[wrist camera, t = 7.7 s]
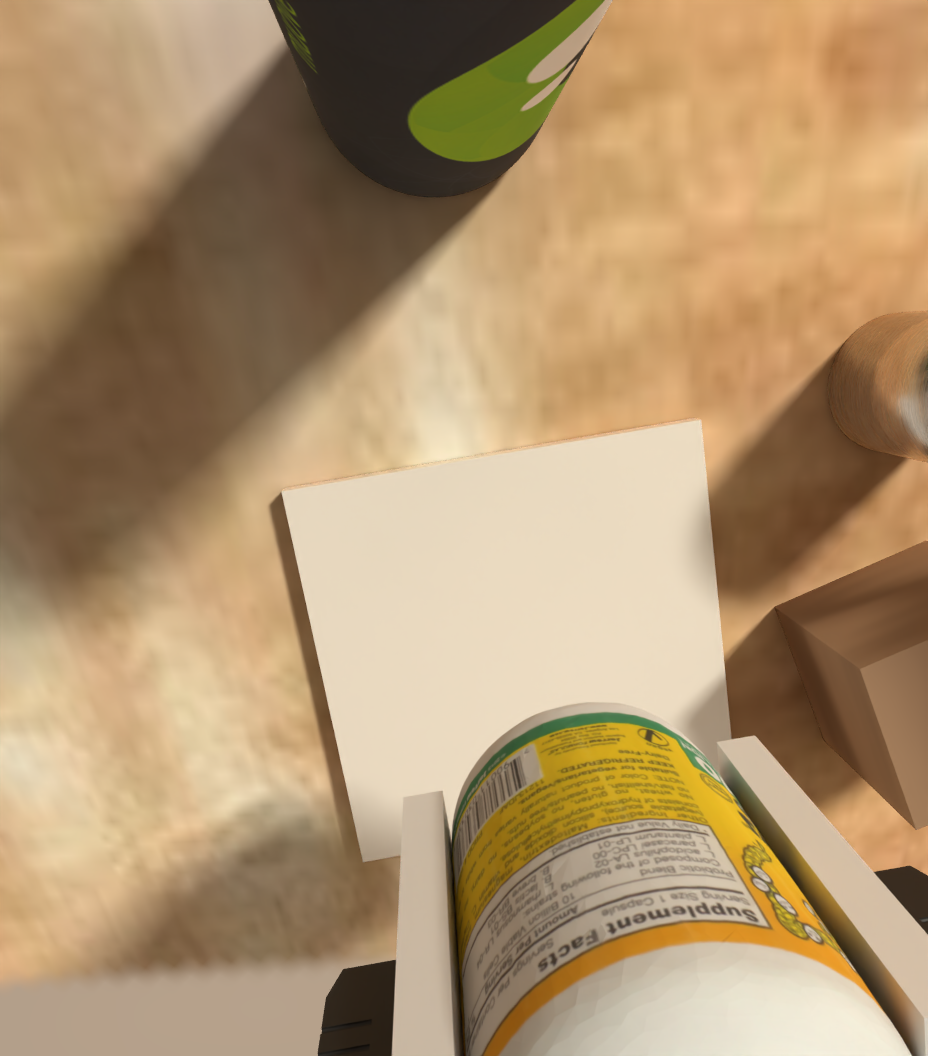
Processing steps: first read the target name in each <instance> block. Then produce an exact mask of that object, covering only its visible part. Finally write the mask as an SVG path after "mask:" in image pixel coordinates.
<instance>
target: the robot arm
mask: <svg viewBox="0 0 928 1056" xmlns="http://www.w3.org/2000/svg"><path fill="white" fill-rule="evenodd" d="M716 743H717V753H718V762H719V772H720V776H721V777H722V779H723V780H724V782H725V783H726V785H727V786H728V787H729V789H730V790H731V792H732V793H733V795H734V796H735V797H736V798H737V800H738V801H739V803H740V805H741V806H742V808H743V809H744V811H745V813H746V814H747V815H748V816H749V818H750V820H751V821H752V823H753V824H754V825H755V827H756V828H757V829H758V831H759V832H760V833H761V835H762V836H763V838H764V839H765V841H766V843H767V844H768V845H769V847H770V848H771V849H772V851H773V852H774V854H775V855H776V857H777V859H778V860H779V861H780V863H781V864H782V865H783V867H784V868H785V870H786V871H787V872H788V874H789V875H790V877H791V878H792V879H793V881H794V882H795V884H796V885H797V886H798V888H799V889H800V891H801V892H802V893H803V895H804V896H805V898H806V899H807V901H808V902H809V904H810V905H811V906H812V908H813V909H814V911H815V912H816V914H817V915H818V917H819V918H820V919H821V921H822V922H823V924H824V925H825V926H826V928H827V929H828V931H829V932H830V933H831V935H832V936H833V938H834V939H835V941H836V942H837V944H838V945H839V947H840V948H841V949H842V951H843V952H844V954H845V955H846V957H847V958H848V960H849V961H850V962H851V964H852V965H853V967H854V968H855V970H856V971H857V973H858V974H859V975H860V977H861V978H862V980H863V981H864V983H865V984H866V986H867V987H868V989H869V990H870V992H871V993H872V995H873V996H874V998H875V999H876V1001H877V1002H878V1004H879V1005H880V1006H881V1008H882V1009H883V1011H884V1012H885V1014H886V1015H887V1016H888V1018H889V1019H890V1021H891V1022H892V1024H893V1025H894V1027H895V1028H896V1030H897V1031H898V1033H899V1034H900V1036H901V1037H902V1039H903V1041H904V1043H905V1044H906V1046H907V1048H908V1050H909V1051H910V1053H911V1055H912V1056H928V876H927V875H926V874H924V873H922V872H920V871H919V870H917V869H915V868H913V867H911V866H905V867H900V868H894V869H889V870H883V871H877V872H873V871H872V870H871V869H870V868H869V866H868V865H867V864H866V863H865V862H864V861H863V859H862V858H861V857H860V856H859V855H858V854H857V853H856V851H855V850H854V849H853V848H852V847H851V846H850V844H849V843H848V842H847V841H846V840H845V839H844V838H843V836H842V835H841V834H840V833H839V832H838V831H837V829H836V828H835V827H834V826H833V825H832V824H831V823H830V821H829V820H828V819H827V818H826V817H825V816H824V814H823V813H822V812H821V811H820V810H819V809H818V808H817V806H816V805H815V804H814V803H813V802H812V801H811V799H810V798H809V797H808V796H807V795H806V794H805V793H804V791H803V790H802V789H801V788H800V787H799V786H798V784H797V783H796V782H795V781H794V780H793V779H792V778H791V776H790V775H789V774H788V773H787V772H786V771H785V769H784V768H783V767H782V766H781V765H780V764H779V763H778V761H777V760H776V759H775V758H774V757H773V756H772V754H771V753H770V752H769V751H768V750H767V749H766V748H765V746H764V745H763V744H762V743H761V742H760V741H759V739H758V738H757V737H756V736H755V735H754V736H749V737H743V738H737V739H731V740H726V741H720V742H716ZM318 1056H464V1051H463V1030H462V1016H461V999H460V974H459V958H458V944H457V927H456V912H455V894H454V877H453V867H452V839H451V834H450V828H449V823H448V818H447V813H446V807H445V802H444V797H443V791H436V792H430V793H425V794H419V795H413V796H408V797H403V817H402V840H401V862H400V884H399V907H398V929H397V952H396V960H392V961H386V962H381V963H375V964H370V965H364V966H358V967H353V968H347V969H343V970H342V972H341V974H340V975H339V977H338V979H337V980H336V982H335V984H334V986H333V987H332V989H331V991H330V992H329V994H328V996H327V997H326V1002H325V1008H324V1015H323V1022H322V1034H321V1035H320V1041H319V1048H318Z"/></svg>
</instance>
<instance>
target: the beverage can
mask: <svg viewBox="0 0 928 1056" xmlns="http://www.w3.org/2000/svg"><path fill="white" fill-rule="evenodd" d="M268 1H269V3H270V5H271V7H272V10H273V12H274V14H275V17H276V19H277V21H278V24H279V26H280V28H281V31H282V33H283V35H284V38H285V40H286V42H287V45H288V47H289V49H290V51H291V54H292V56H293V58H294V61H295V63H296V65H297V68H298V70H299V72H300V75H301V77H302V79H303V82H304V84H305V86H306V89H307V91H308V93H309V96H310V98H311V100H312V102H313V105H314V107H315V109H316V112H317V114H318V116H319V118H320V121H321V123H322V125H323V127H324V128H325V130H326V132H327V134H328V135H329V137H330V138H331V140H332V141H333V143H334V144H335V145H336V147H337V148H338V149H339V151H340V152H341V153H342V154H343V155H344V156H345V157H346V158H347V159H348V160H349V161H350V162H351V163H352V164H353V165H354V166H355V167H356V168H357V169H358V170H360V171H361V172H362V173H364V174H365V175H366V176H368V177H369V178H371V179H373V180H374V181H376V182H378V183H380V184H382V185H384V186H386V187H388V188H390V189H393V190H396V191H398V192H402V193H405V194H409V195H414V196H422V197H446V196H453V195H458V194H463V193H466V192H469V191H472V190H475V189H477V188H480V187H482V186H484V185H486V184H488V183H489V182H491V181H493V180H494V179H496V178H498V177H499V176H500V175H502V174H503V173H504V172H506V171H507V170H508V169H509V168H510V167H512V166H513V165H514V164H515V163H516V162H517V161H518V160H519V159H520V157H521V156H522V155H523V154H524V153H525V151H526V150H527V149H528V148H529V146H530V145H531V143H532V142H533V140H534V139H535V137H536V135H537V134H538V132H539V130H540V128H541V127H542V125H543V123H544V121H545V119H546V118H547V116H548V114H549V112H550V111H551V109H552V107H553V105H554V103H555V102H556V100H557V98H558V96H559V94H560V93H561V91H562V89H563V87H564V86H565V84H566V82H567V80H568V78H569V77H570V75H571V73H572V71H573V70H574V68H575V66H576V64H577V62H578V61H579V59H580V57H581V55H582V54H583V52H584V50H585V48H586V46H587V45H588V43H589V41H590V39H591V38H592V36H593V34H594V32H595V30H596V29H597V27H598V25H599V23H600V22H601V20H602V18H603V16H604V14H605V13H606V11H607V9H608V7H609V5H610V4H611V2H612V0H268Z"/></svg>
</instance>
